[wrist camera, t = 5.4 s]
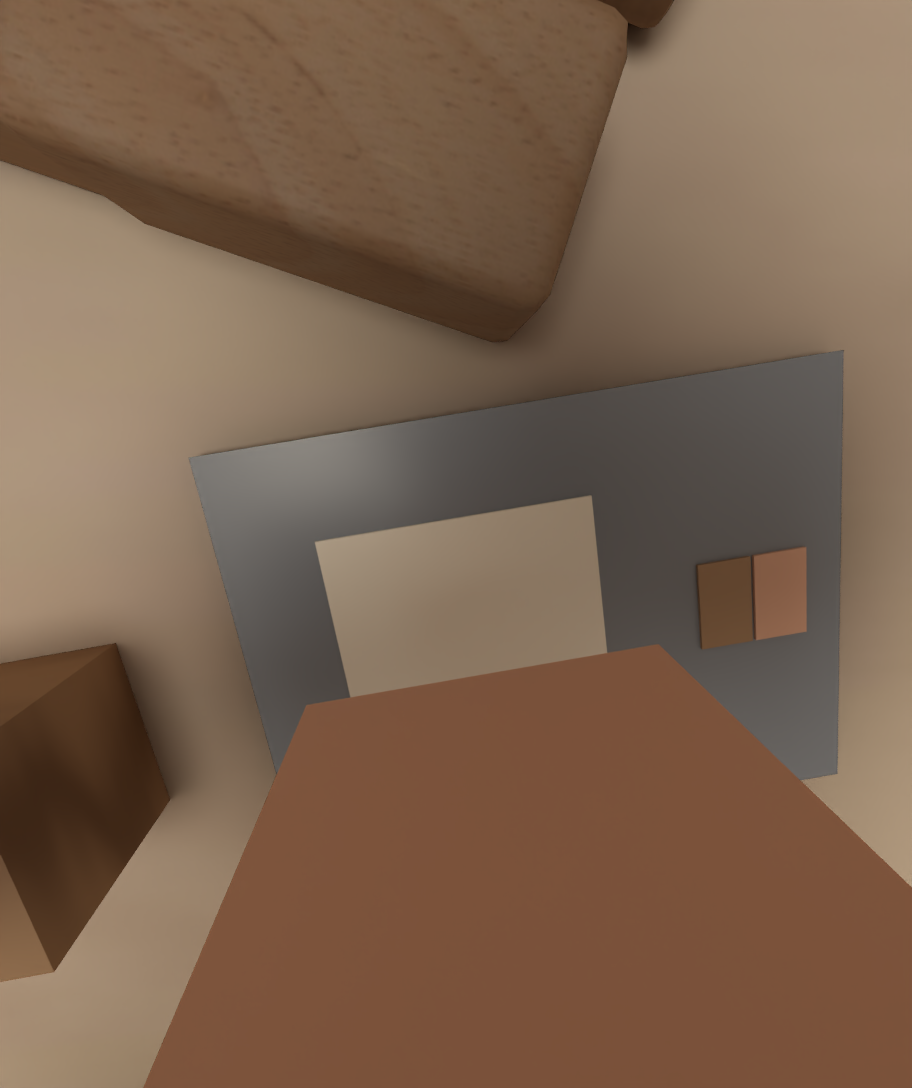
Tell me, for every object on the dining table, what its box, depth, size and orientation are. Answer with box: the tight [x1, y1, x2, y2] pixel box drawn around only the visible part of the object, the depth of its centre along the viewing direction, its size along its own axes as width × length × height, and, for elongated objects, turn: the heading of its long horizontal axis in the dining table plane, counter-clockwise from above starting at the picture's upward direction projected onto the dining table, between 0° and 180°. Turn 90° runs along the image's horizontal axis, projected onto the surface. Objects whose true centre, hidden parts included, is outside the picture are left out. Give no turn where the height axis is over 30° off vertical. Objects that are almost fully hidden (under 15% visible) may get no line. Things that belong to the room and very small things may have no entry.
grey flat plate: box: [189, 350, 844, 780], centre depth 14 cm, size 12×16×1 cm
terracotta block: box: [143, 644, 912, 1088], centre depth 6 cm, size 5×5×5 cm
